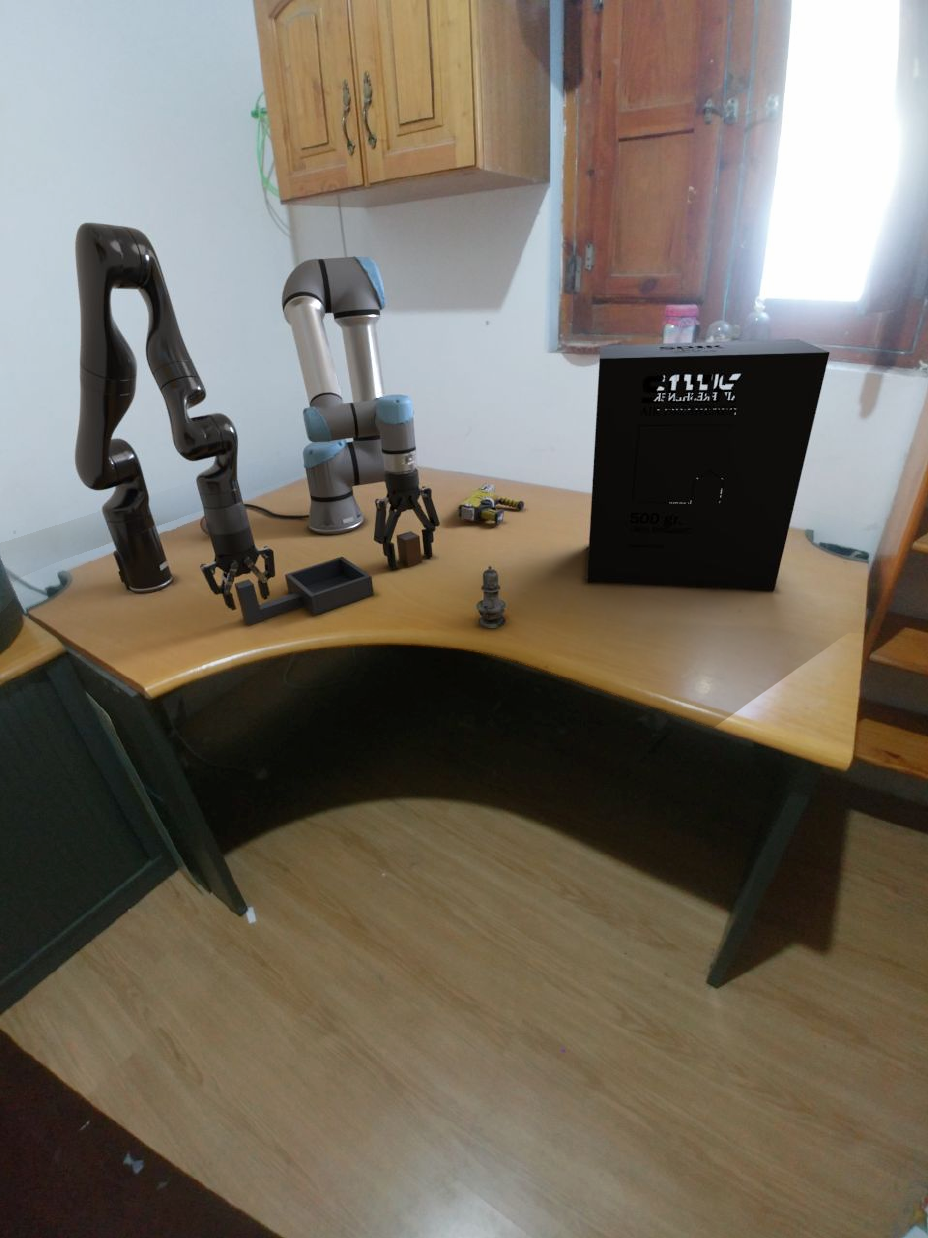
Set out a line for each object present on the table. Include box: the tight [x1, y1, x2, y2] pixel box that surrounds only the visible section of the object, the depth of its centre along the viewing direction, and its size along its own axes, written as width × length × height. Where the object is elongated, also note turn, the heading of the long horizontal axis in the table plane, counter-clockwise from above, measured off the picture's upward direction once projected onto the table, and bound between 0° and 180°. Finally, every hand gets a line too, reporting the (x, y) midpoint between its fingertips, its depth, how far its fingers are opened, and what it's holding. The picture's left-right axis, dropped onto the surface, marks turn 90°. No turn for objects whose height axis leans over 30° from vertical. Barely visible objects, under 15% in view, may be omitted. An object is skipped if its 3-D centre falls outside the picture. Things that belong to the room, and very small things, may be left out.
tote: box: [233, 556, 375, 626], centre depth 128 cm, size 26×14×8 cm, turn 126°
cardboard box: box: [586, 338, 831, 592], centre depth 124 cm, size 38×20×45 cm, turn 78°
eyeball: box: [199, 515, 210, 536], centre depth 166 cm, size 6×6×6 cm
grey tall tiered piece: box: [475, 565, 507, 629], centre depth 116 cm, size 6×6×12 cm
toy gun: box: [457, 482, 525, 525], centre depth 171 cm, size 5×24×15 cm
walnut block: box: [396, 531, 423, 568], centre depth 143 cm, size 4×4×7 cm
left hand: (249, 603), depth 122 cm, fingers open, 6 cm apart
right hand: (410, 561), depth 145 cm, fingers open, 9 cm apart
